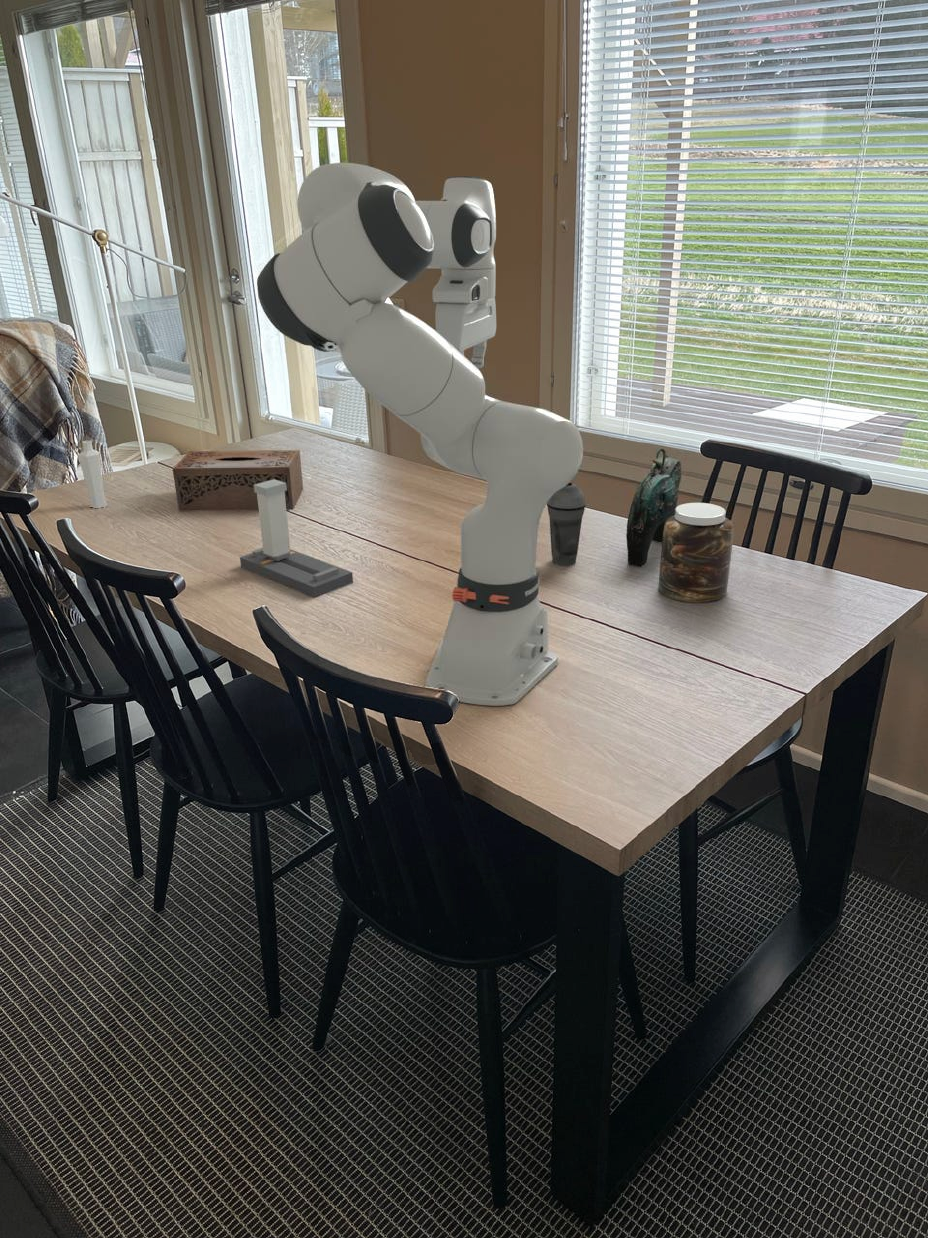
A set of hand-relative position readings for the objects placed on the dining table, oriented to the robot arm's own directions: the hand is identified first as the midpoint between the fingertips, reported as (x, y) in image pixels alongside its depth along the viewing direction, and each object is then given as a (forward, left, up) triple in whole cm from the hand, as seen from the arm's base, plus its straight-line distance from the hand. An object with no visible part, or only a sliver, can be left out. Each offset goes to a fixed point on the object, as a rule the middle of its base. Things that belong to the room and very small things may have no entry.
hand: (468, 372), depth 158 cm
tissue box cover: (+25, +65, -37) cm, 79 cm away
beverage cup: (+11, -15, -37) cm, 42 cm away
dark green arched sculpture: (+22, -30, -37) cm, 53 cm away
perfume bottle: (+11, +94, -37) cm, 101 cm away
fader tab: (-9, +36, -35) cm, 50 cm away
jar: (+5, -40, -37) cm, 55 cm away
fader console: (-11, +31, -37) cm, 49 cm away
